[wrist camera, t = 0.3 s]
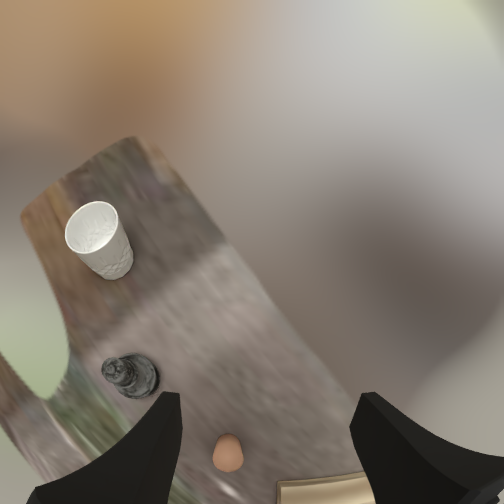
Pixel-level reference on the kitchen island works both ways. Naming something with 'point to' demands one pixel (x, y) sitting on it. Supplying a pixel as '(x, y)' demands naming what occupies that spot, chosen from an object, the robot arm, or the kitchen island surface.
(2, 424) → the kitchen island surface
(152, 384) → the chess piece
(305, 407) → the kitchen island surface
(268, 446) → the kitchen island surface
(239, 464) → the peg
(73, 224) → the white cup
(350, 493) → the socket block
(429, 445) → the robot arm
